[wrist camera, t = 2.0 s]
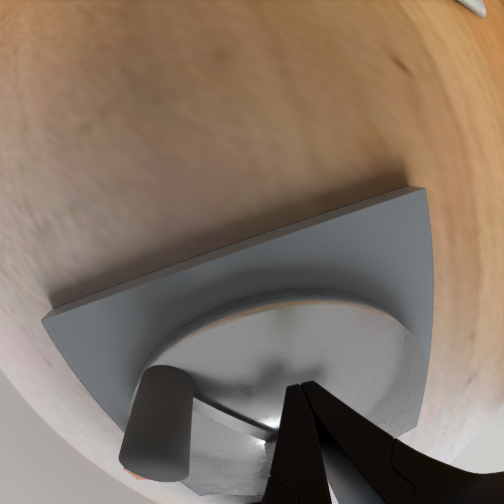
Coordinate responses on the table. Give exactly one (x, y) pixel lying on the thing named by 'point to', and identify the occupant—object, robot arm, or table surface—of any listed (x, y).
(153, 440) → the dial
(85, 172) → the table surface
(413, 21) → the table surface
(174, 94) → the table surface
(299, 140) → the table surface
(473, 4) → the leek
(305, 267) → the stand
